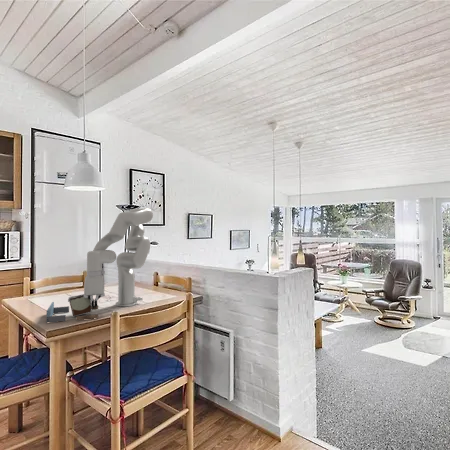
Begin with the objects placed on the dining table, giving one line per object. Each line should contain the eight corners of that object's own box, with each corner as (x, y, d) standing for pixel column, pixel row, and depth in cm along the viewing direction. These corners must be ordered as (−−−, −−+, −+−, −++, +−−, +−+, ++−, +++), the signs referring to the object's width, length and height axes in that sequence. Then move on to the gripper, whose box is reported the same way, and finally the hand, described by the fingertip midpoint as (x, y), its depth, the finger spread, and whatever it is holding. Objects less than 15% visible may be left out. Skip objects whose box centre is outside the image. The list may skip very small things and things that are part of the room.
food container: (88, 311, 179) (86, 293, 180) (93, 311, 175) (91, 292, 176) (65, 317, 170) (63, 298, 171) (71, 317, 166) (68, 297, 167)
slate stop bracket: (69, 311, 179) (69, 300, 179) (65, 321, 161) (65, 309, 161) (52, 313, 176) (52, 302, 176) (46, 323, 158) (46, 310, 158)
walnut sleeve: (98, 308, 186) (98, 305, 186) (97, 318, 165) (97, 314, 165) (79, 310, 182) (79, 306, 182) (76, 320, 162) (76, 316, 162)
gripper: (108, 272, 181) (108, 305, 181) (79, 273, 175) (79, 307, 175) (109, 274, 174) (109, 308, 174) (79, 275, 169) (78, 310, 168)
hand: (94, 307), depth 175 cm, fingers closed
